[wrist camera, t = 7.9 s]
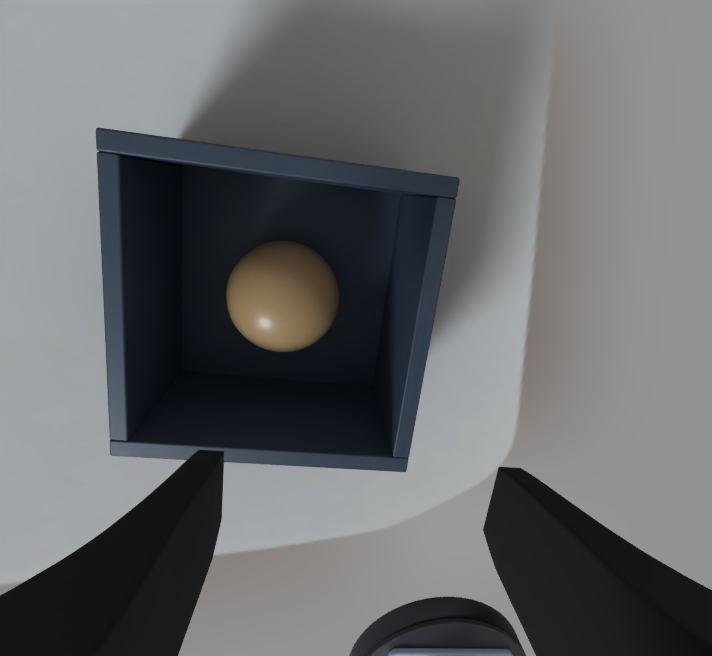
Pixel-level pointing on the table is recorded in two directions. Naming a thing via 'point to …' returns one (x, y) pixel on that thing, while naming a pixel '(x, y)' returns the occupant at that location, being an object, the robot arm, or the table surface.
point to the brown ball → (282, 296)
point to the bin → (212, 319)
